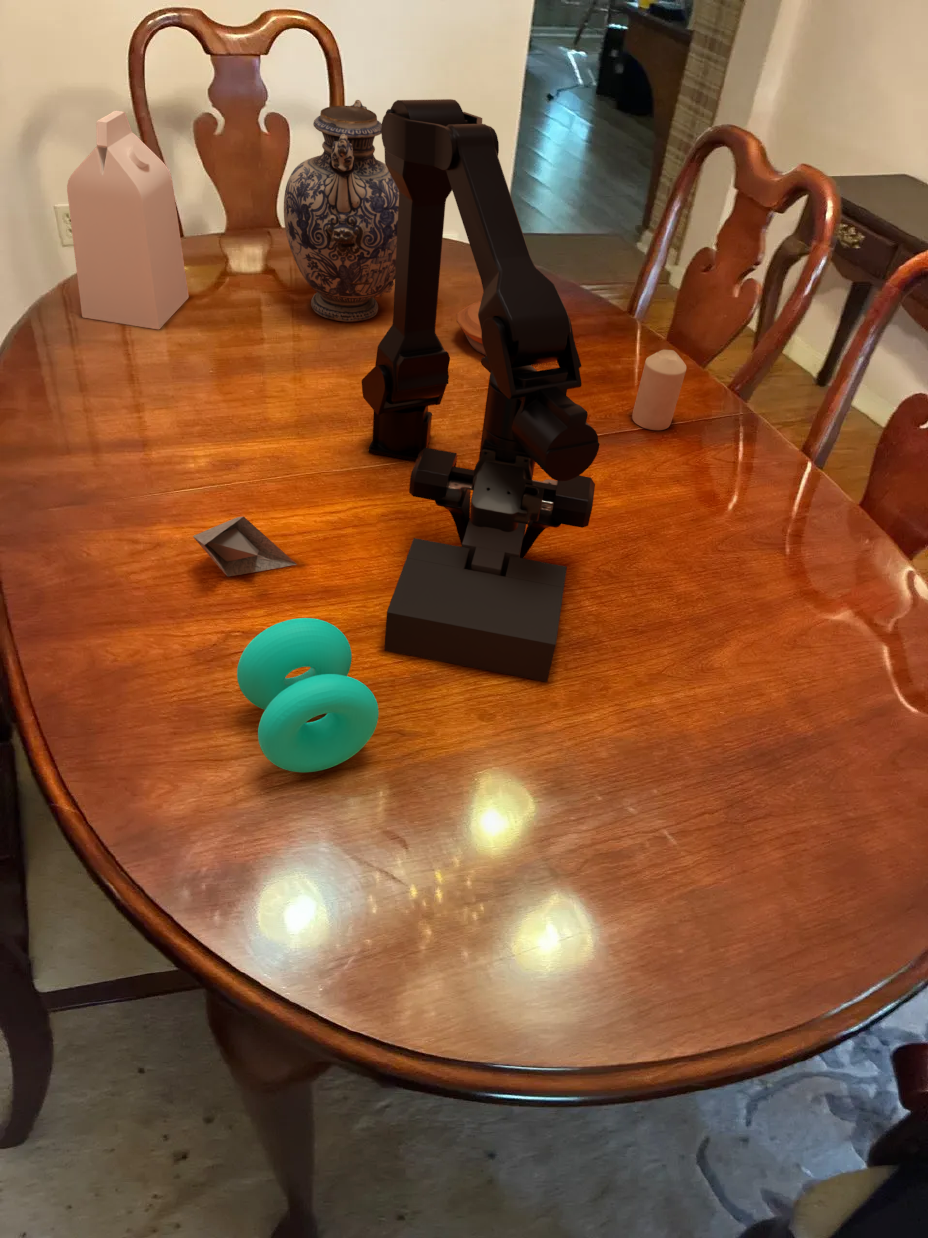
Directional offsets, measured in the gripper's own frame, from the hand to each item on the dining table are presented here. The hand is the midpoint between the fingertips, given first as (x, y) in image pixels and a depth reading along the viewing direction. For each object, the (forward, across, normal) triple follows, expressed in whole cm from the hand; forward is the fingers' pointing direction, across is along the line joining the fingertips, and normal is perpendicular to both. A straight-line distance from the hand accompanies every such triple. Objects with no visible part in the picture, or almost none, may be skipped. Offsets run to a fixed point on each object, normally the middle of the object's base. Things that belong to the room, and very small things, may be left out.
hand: (492, 551), depth 101 cm
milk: (+1, -61, +44) cm, 76 cm away
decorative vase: (+1, -32, +56) cm, 65 cm away
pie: (+1, -6, +54) cm, 54 cm away
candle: (+1, +17, +38) cm, 41 cm away
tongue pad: (+1, 0, -2) cm, 2 cm away
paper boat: (+1, -25, -10) cm, 27 cm away
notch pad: (+1, 0, -12) cm, 12 cm away
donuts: (+1, -12, -30) cm, 32 cm away
